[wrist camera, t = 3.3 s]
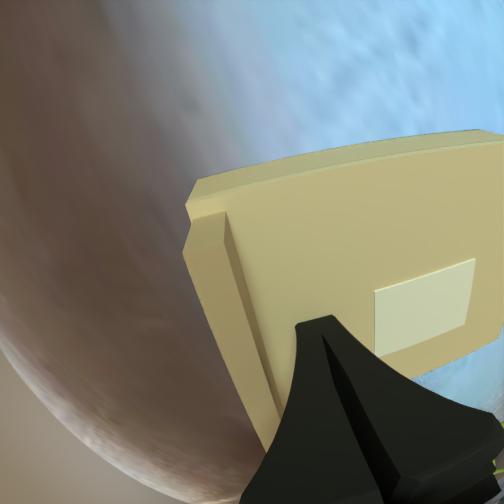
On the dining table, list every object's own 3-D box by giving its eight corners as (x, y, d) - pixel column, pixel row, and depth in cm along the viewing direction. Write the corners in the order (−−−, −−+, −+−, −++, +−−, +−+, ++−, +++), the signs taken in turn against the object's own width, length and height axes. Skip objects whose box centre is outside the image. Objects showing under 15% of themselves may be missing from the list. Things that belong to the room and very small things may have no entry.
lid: (519, 139, 9) (567, 153, 6) (494, 333, 14) (520, 364, 11) (187, 200, 10) (171, 234, 7) (262, 412, 14) (268, 461, 12)
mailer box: (477, 129, 12) (518, 138, 9) (468, 305, 16) (493, 332, 14) (197, 179, 12) (188, 199, 10) (258, 370, 17) (262, 411, 14)
